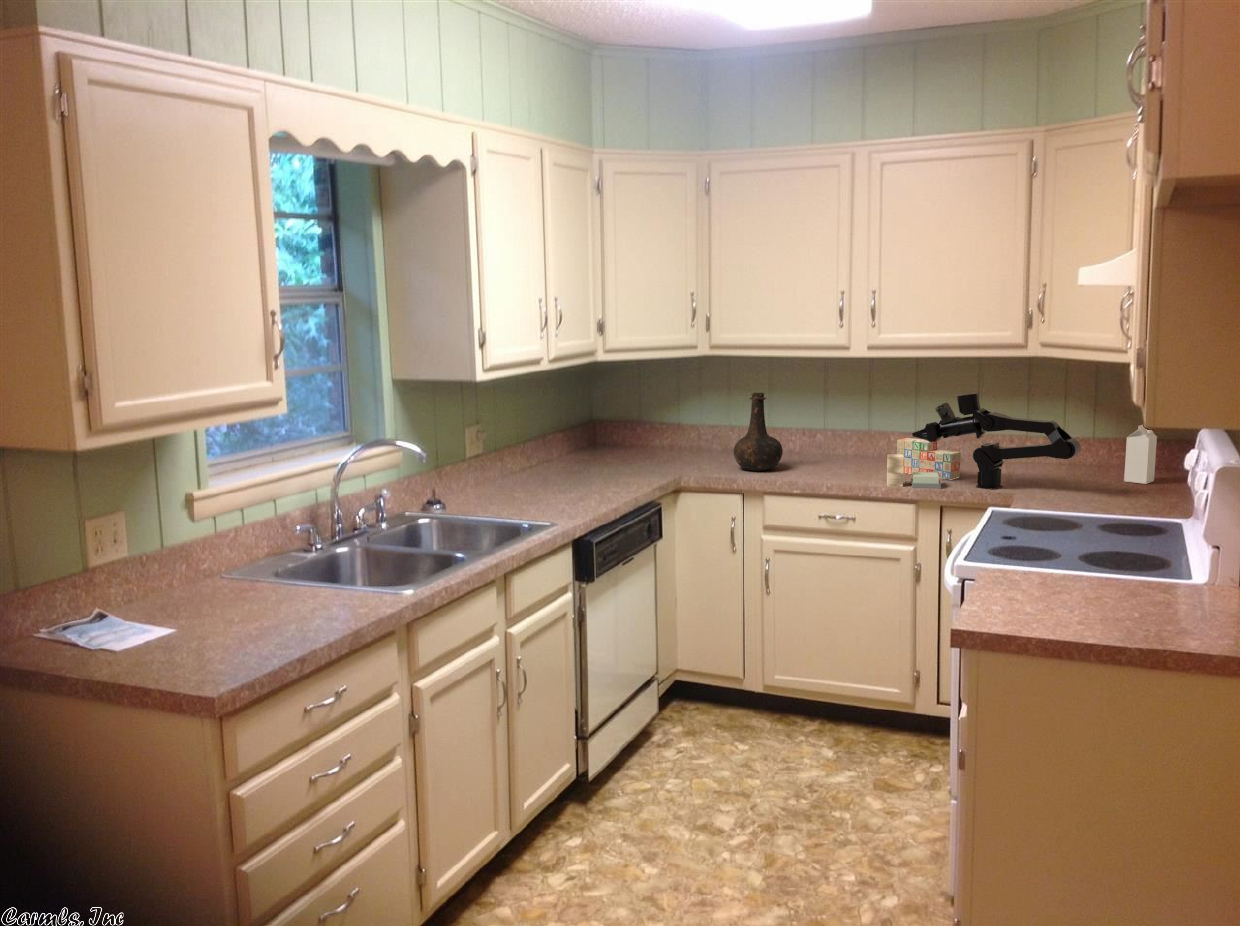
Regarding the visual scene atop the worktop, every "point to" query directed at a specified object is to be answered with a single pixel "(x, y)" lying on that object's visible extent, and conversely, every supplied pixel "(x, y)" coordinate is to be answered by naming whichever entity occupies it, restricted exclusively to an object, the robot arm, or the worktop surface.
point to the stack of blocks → (928, 458)
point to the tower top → (925, 477)
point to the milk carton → (1140, 456)
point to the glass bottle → (757, 441)
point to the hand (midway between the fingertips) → (917, 433)
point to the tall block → (895, 470)
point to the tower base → (926, 485)
